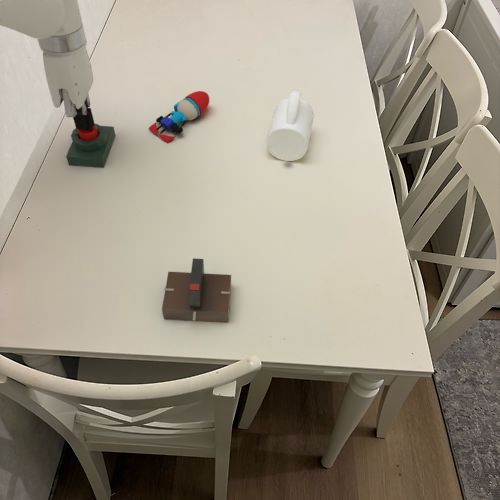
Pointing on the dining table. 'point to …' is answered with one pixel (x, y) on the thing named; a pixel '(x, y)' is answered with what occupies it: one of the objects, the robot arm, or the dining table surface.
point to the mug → (290, 128)
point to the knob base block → (212, 298)
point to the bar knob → (196, 283)
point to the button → (88, 134)
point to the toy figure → (182, 114)
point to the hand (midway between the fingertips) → (85, 127)
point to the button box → (91, 148)
